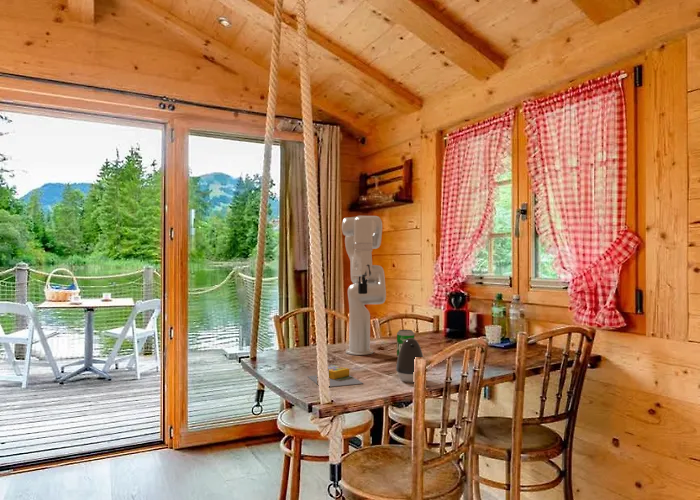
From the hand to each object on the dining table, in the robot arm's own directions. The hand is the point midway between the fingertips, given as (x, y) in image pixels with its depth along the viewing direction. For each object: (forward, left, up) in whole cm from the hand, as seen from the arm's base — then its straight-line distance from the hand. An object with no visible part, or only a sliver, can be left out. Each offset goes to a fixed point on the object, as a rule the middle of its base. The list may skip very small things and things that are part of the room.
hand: (362, 293), depth 198 cm
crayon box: (+7, -18, -27) cm, 34 cm away
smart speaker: (+27, +7, -29) cm, 40 cm away
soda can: (-8, +24, -29) cm, 39 cm away
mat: (+17, -18, -29) cm, 38 cm away
